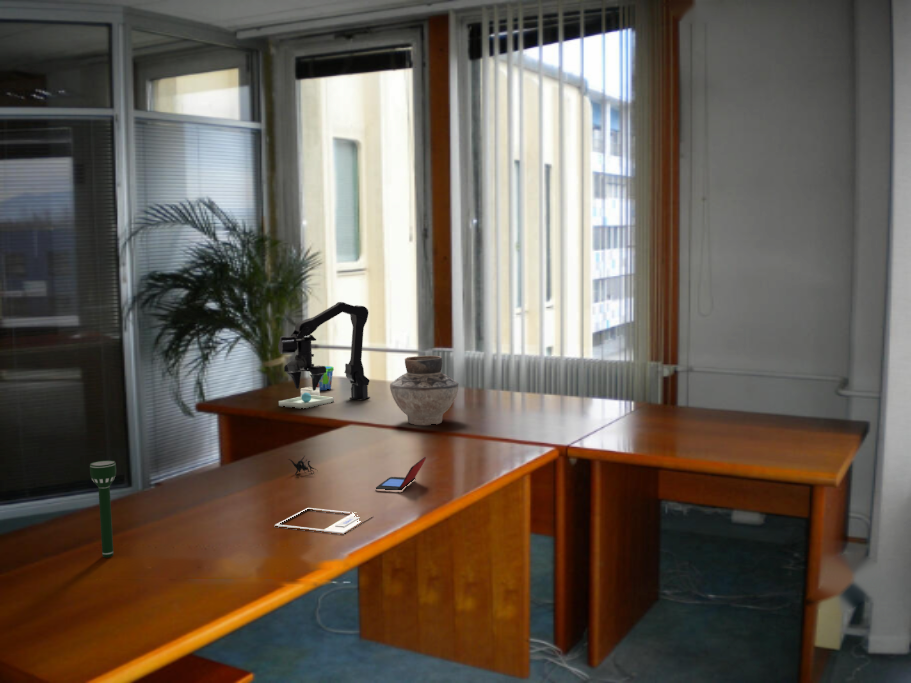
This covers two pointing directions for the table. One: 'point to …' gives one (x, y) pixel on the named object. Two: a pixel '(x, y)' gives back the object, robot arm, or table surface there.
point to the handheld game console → (401, 478)
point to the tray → (301, 404)
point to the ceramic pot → (424, 390)
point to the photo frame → (337, 527)
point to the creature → (302, 466)
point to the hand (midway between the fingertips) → (305, 389)
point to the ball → (306, 397)
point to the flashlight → (104, 500)
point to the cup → (310, 391)
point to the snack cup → (326, 379)
